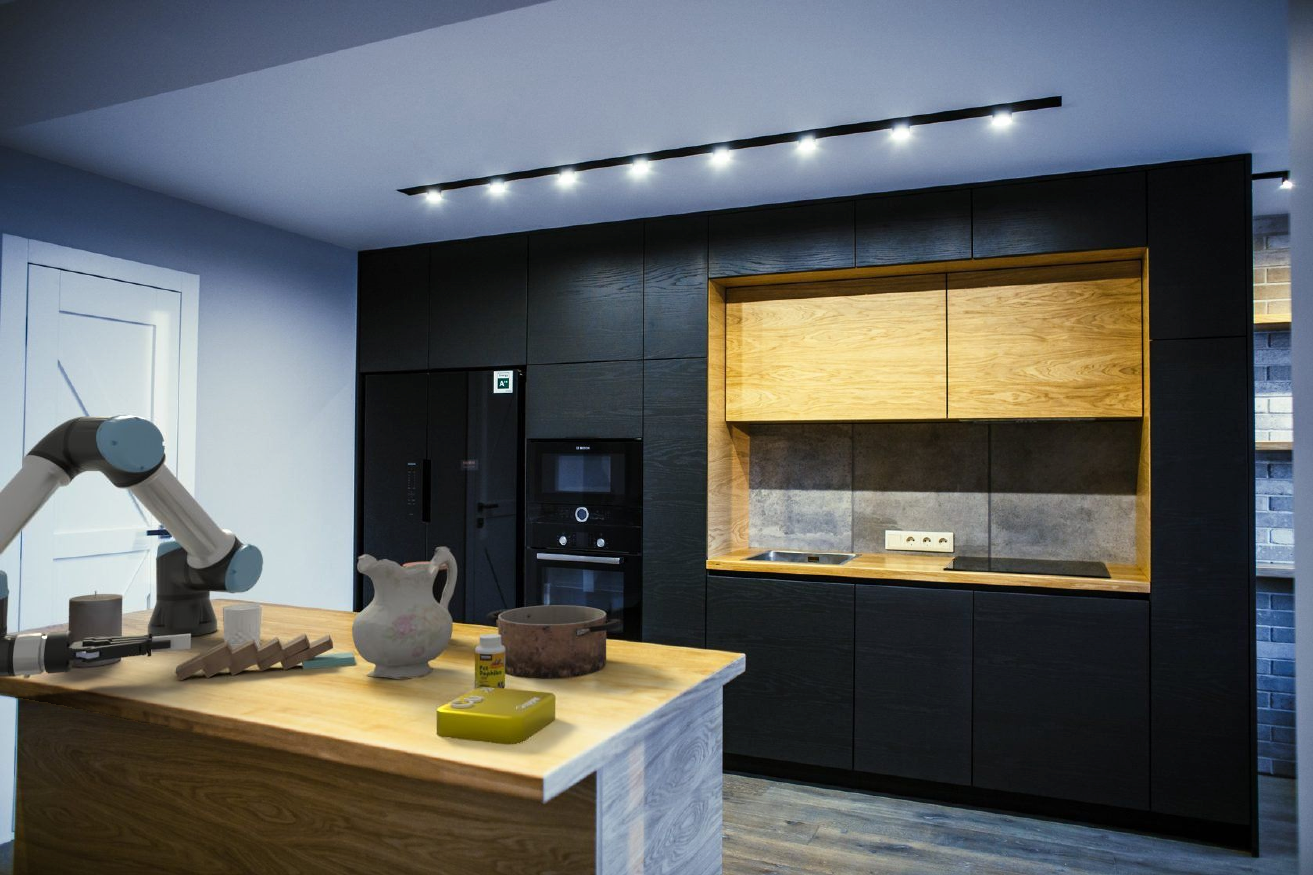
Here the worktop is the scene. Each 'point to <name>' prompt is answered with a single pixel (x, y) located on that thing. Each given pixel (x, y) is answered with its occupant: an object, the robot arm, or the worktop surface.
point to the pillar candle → (95, 620)
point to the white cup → (242, 623)
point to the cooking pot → (553, 640)
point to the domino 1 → (203, 660)
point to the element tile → (496, 715)
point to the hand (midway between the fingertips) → (190, 641)
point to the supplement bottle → (490, 662)
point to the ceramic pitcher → (404, 616)
